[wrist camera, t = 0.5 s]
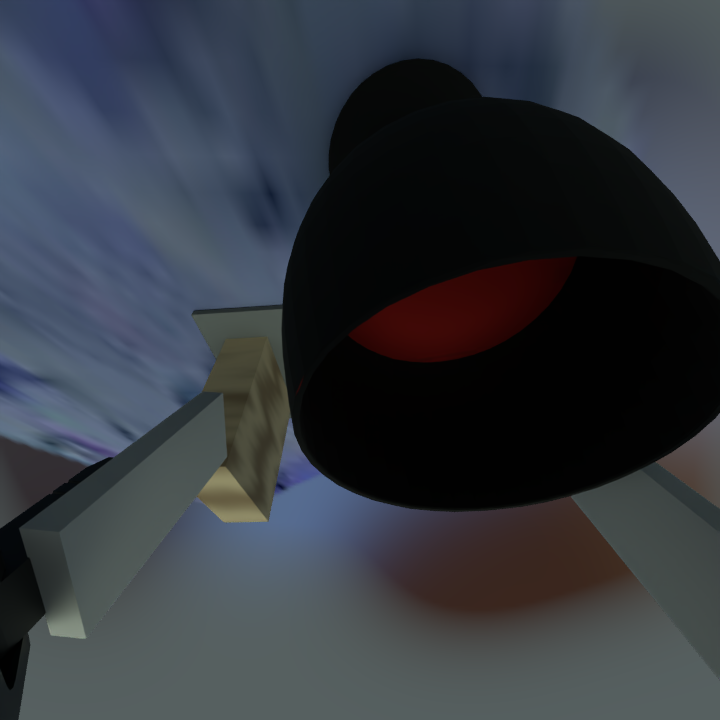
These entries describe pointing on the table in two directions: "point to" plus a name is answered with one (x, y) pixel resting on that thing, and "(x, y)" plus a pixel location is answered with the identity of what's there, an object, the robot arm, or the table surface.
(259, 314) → the rubber mat
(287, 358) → the wine glass
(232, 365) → the oak board
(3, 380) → the table surface
